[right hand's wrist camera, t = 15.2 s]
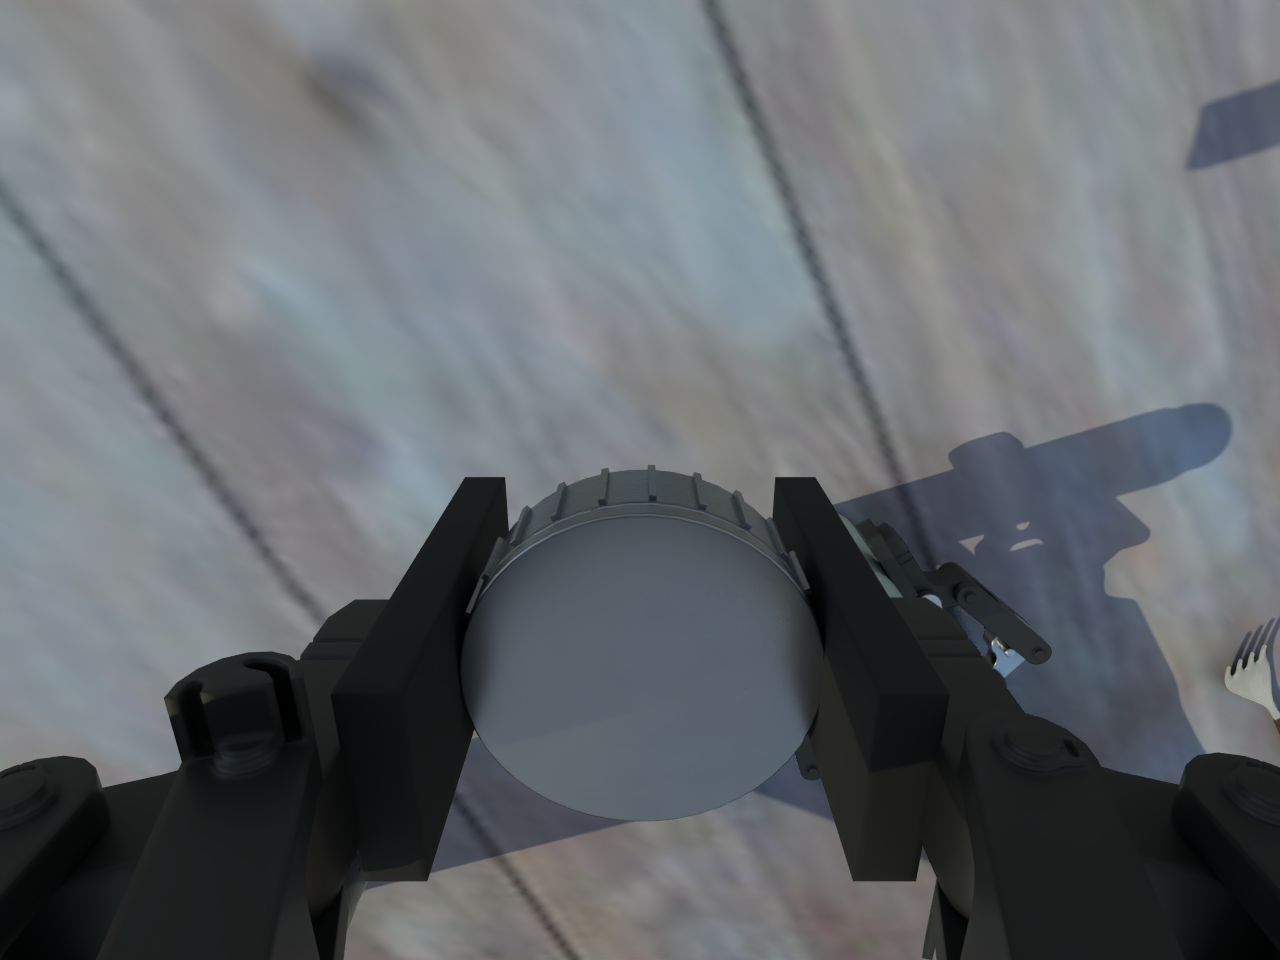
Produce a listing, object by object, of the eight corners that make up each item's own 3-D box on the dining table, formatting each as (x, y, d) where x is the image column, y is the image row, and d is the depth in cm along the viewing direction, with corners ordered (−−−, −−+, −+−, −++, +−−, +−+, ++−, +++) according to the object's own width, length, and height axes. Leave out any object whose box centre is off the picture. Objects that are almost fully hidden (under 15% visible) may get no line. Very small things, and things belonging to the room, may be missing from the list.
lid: (504, 756, 13) (485, 836, 11) (453, 477, 11) (421, 525, 9) (805, 737, 13) (829, 815, 11) (806, 451, 11) (834, 494, 9)
